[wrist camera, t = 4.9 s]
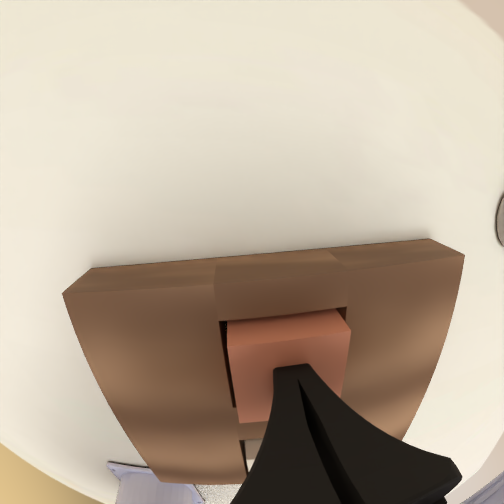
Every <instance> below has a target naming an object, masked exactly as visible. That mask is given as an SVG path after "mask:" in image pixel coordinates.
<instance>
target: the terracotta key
mask: <svg viewBox="0 0 504 504" xmlns="http://www.w3.org/2000/svg"><path fill="white" fill-rule="evenodd" d="M350 336H351V330H350V328H349V327H348V325H347V324H346V322H345V321H344V320H343V318H342V317H341V315H340V314H339V312H338V311H337V310H336V308H332V309H325V310H318V311H311V312H303V313H295V314H287V315H278V316H269V317H259V318H249V319H237V320H227V349H228V356H229V362H230V369H231V375H232V382H233V388H234V394H235V400H236V406H237V412H238V417H239V423H250V422H260V421H268V420H269V416H270V412H271V407H272V400H273V394H274V393H273V369H275V368H276V367H284V366H291V365H298V364H305V363H308V364H310V365H311V367H312V368H313V369H314V370H315V372H316V373H317V374H318V375H319V376H320V378H321V379H322V380H323V381H324V382H325V383H326V384H327V385H328V386H329V387H330V388H331V389H332V390H333V391H334V392H335V393H336V394H337V395H338V396H339V397H341V392H342V386H343V381H344V375H345V369H346V363H347V357H348V350H349V343H350Z"/></svg>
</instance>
